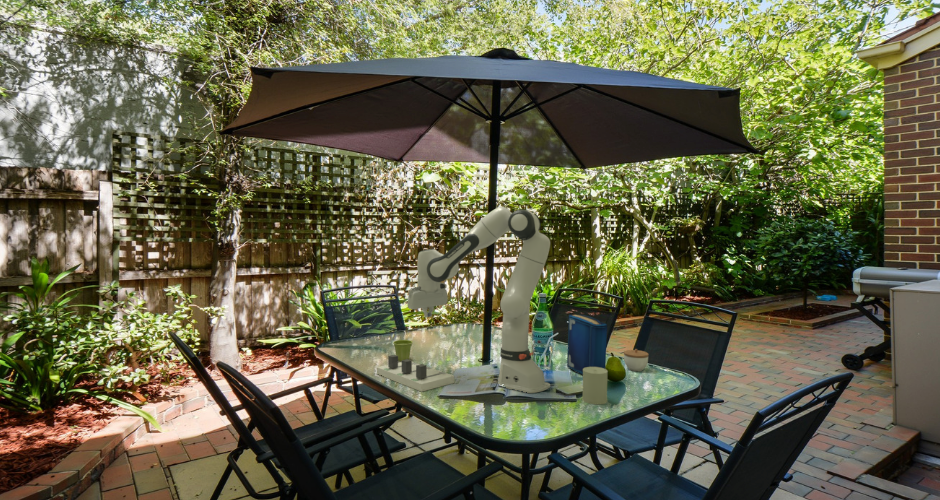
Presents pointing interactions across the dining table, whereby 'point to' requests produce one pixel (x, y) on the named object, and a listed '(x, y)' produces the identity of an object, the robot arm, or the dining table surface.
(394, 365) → the switch
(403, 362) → the middle switch
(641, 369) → the lidded jar
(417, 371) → the switch
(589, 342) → the book
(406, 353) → the plant pot
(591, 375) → the can
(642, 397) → the dining table surface
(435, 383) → the switch panel
